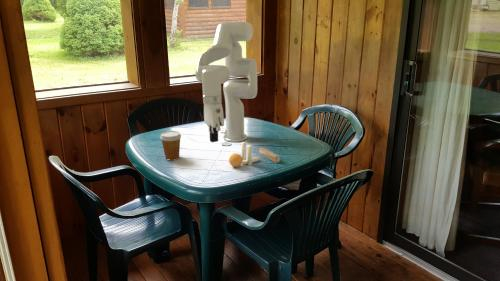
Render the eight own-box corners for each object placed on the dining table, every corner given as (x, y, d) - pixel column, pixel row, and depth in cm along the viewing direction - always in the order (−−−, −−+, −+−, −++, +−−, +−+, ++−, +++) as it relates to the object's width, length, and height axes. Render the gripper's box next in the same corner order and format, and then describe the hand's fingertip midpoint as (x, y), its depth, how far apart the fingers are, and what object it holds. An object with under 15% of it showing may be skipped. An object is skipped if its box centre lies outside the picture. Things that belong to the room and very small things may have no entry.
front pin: (243, 161, 181) (259, 156, 186) (241, 160, 182) (257, 155, 187) (244, 165, 181) (260, 161, 186) (241, 164, 183) (257, 159, 188)
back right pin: (246, 165, 182) (246, 146, 179) (249, 163, 183) (248, 144, 180) (250, 166, 181) (250, 147, 178) (253, 164, 182) (252, 145, 179)
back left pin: (241, 161, 186) (240, 143, 183) (243, 160, 187) (243, 141, 184) (245, 162, 185) (244, 143, 182) (247, 160, 186) (246, 142, 184)
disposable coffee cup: (163, 154, 195) (161, 131, 191) (183, 153, 196) (181, 130, 192) (160, 162, 186) (158, 137, 183) (181, 161, 187) (180, 136, 183)
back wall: (275, 162, 184) (275, 156, 183) (259, 153, 195) (259, 147, 194) (279, 162, 185) (279, 155, 184) (262, 152, 196) (262, 147, 195)
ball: (244, 159, 183) (236, 170, 182) (233, 151, 183) (225, 162, 182) (246, 157, 177) (237, 168, 176) (235, 149, 177) (227, 160, 176)
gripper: (229, 101, 162) (230, 144, 168) (212, 94, 174) (214, 135, 180) (212, 103, 158) (214, 148, 164) (196, 96, 170) (198, 138, 176)
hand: (214, 141), depth 172 cm, fingers closed
